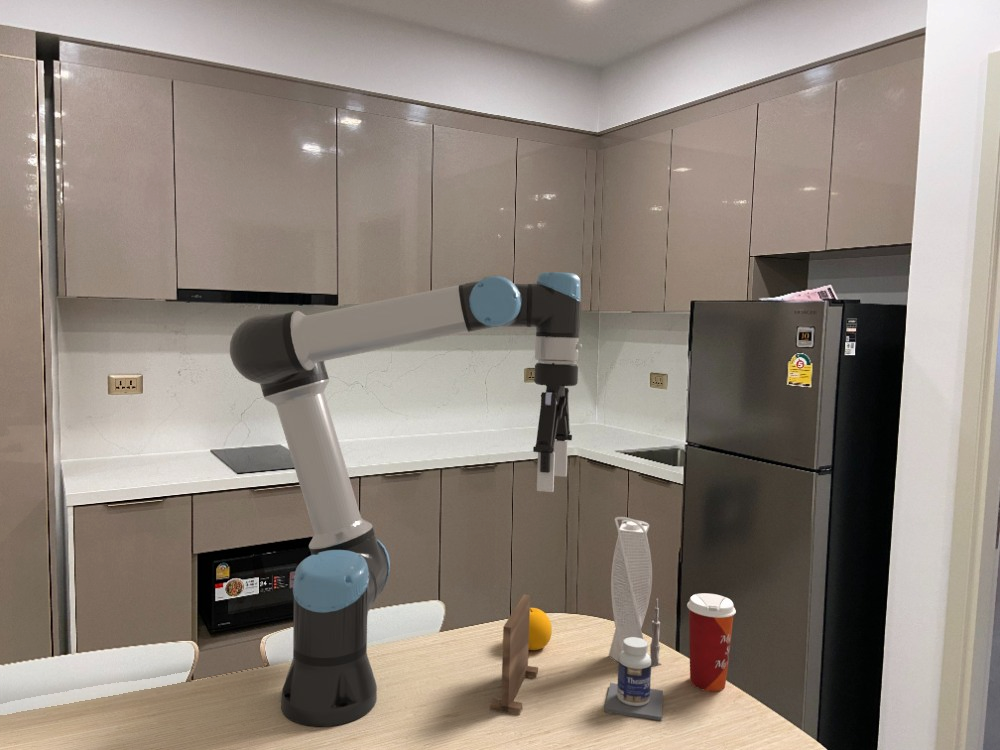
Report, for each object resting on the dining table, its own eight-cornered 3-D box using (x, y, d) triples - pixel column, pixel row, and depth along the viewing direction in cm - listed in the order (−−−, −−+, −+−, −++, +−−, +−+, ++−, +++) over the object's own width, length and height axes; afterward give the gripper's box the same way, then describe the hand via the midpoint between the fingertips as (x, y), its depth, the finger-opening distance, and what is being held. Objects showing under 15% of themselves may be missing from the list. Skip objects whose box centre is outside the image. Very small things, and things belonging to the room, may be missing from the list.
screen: (489, 709, 118) (491, 625, 117) (511, 668, 133) (513, 593, 132) (519, 714, 117) (522, 629, 116) (538, 672, 131) (540, 596, 131)
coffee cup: (734, 697, 125) (738, 611, 124) (684, 691, 126) (688, 606, 125) (729, 675, 133) (733, 594, 132) (682, 669, 134) (686, 589, 134)
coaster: (604, 711, 119) (604, 708, 119) (610, 686, 127) (610, 682, 127) (661, 720, 116) (661, 717, 116) (663, 693, 125) (663, 690, 125)
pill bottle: (625, 709, 119) (627, 650, 118) (611, 693, 124) (613, 636, 123) (655, 705, 120) (658, 647, 119) (640, 689, 125) (642, 634, 125)
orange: (547, 657, 138) (548, 619, 137) (506, 652, 140) (507, 614, 139) (554, 640, 145) (555, 603, 145) (515, 635, 147) (516, 599, 147)
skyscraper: (624, 675, 132) (631, 522, 131) (598, 656, 139) (604, 512, 138) (661, 666, 136) (667, 518, 134) (634, 648, 143) (640, 508, 142)
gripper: (566, 366, 114) (561, 500, 115) (587, 360, 138) (583, 471, 140) (519, 364, 116) (515, 496, 117) (548, 359, 140) (544, 468, 141)
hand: (552, 483), depth 128 cm, fingers open, 13 cm apart
